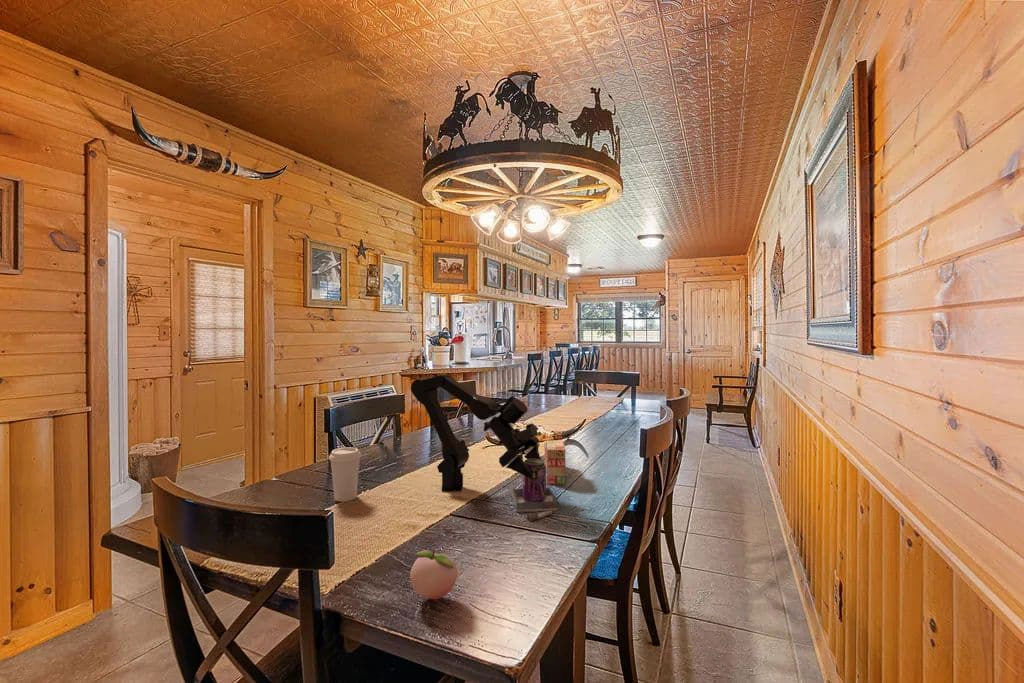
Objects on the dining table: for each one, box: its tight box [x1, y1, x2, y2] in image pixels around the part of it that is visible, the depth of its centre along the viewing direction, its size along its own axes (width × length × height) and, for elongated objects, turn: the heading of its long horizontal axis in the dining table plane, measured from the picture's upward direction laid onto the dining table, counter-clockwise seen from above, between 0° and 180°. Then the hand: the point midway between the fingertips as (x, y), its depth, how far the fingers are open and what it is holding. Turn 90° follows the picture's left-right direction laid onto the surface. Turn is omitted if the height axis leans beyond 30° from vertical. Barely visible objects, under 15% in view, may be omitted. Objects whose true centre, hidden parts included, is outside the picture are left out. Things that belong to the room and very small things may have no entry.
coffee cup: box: [328, 446, 362, 503], centre depth 148 cm, size 10×10×15 cm
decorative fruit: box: [409, 549, 458, 600], centre depth 93 cm, size 9×8×10 cm
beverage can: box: [522, 458, 547, 502], centre depth 145 cm, size 7×7×12 cm
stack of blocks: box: [543, 440, 567, 485], centre depth 172 cm, size 21×6×12 cm, turn 179°
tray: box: [511, 487, 559, 513], centre depth 144 cm, size 12×12×2 cm
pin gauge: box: [526, 510, 553, 522], centre depth 133 cm, size 8×2×2 cm, turn 127°
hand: (537, 472), depth 143 cm, fingers open, 9 cm apart
